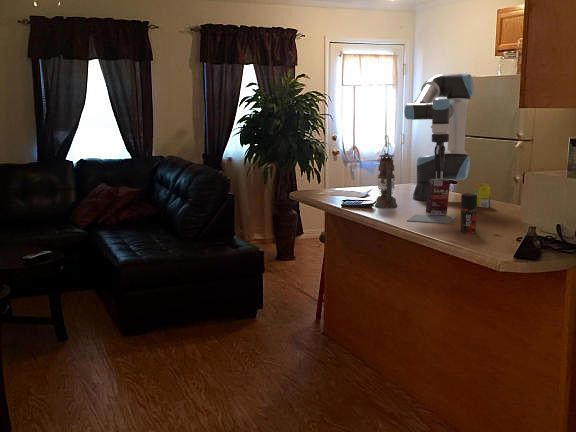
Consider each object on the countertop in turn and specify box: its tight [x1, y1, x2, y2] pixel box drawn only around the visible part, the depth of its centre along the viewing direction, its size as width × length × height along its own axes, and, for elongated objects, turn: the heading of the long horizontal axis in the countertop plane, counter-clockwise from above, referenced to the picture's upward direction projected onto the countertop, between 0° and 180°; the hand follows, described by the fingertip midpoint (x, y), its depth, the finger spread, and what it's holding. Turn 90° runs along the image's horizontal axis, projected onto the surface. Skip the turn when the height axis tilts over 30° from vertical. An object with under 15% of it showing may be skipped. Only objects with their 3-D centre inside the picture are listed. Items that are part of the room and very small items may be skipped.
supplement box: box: [425, 179, 451, 216], centre depth 282 cm, size 9×5×16 cm, turn 105°
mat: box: [406, 213, 456, 225], centre depth 274 cm, size 15×18×1 cm
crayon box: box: [473, 182, 492, 209], centre depth 302 cm, size 7×3×12 cm, turn 57°
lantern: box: [374, 135, 398, 209], centre depth 306 cm, size 11×16×35 cm
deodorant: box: [459, 193, 478, 234], centre depth 246 cm, size 6×6×15 cm
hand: (439, 185), depth 285 cm, fingers closed
